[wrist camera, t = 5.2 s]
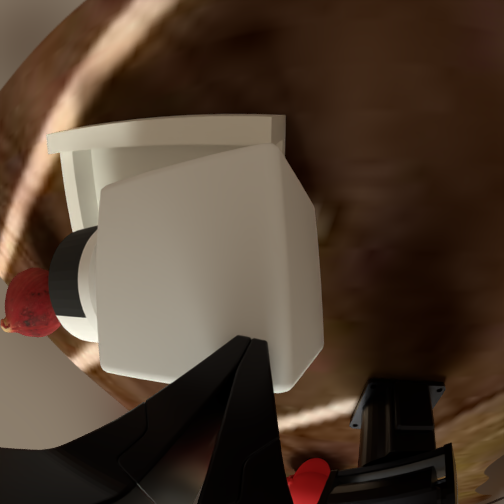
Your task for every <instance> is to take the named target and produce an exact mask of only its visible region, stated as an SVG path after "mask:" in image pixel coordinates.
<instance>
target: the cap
mask: <svg viewBox="0 0 504 504" xmlns="http://www.w3.org/2000/svg"><path fill="white" fill-rule="evenodd" d="M329 474H330V467H329V465H328V463H327V462H326V461H325V460H323V459H321V458H312V459H309V460H307V461H306V462H304V463H303V464H302V465H301V466H300V467H299V468H298V470H297V471H296V473H295V474H294V475H290V476H289V477H287V482H288V486H289V490H290V493H291V496H292V499H293V503H294V504H317V503H318V500H319V498H320V496H321V493H322V491H323V489H324V486H325V484H326V481H327V479H328V477H329Z"/></svg>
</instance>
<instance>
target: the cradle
mask: <svg viewBox="0 0 504 504" xmlns="http://www.w3.org/2000/svg"><path fill="white" fill-rule="evenodd" d="M285 134H286V115H272V114H200V115H180V116H165V117H152V118H142V119H132V120H123V121H115V122H108V123H101V124H94V125H88V126H82V127H78V128H73V129H68V130H64V131H60V132H56V133H52V134H48V135H46V137H47V147H48V154H53V153H60V157H61V165H62V173H63V180H64V187H65V193H66V199H67V205H68V210H69V216H70V221H71V226H72V230H73V232H75V231H77V230H81V229H85V228H89V227H93V226H97V225H98V215H99V202H100V192H101V189H102V188H104V187H105V186H106V185H108V184H111V183H114V182H117V181H120V180H123V179H126V178H129V177H133V176H136V175H139V174H142V173H146V172H149V171H152V170H156V169H159V168H163V167H166V166H170V165H173V164H177V163H181V162H185V161H188V160H192V159H196V158H200V157H204V156H208V155H212V154H216V153H221V152H225V151H229V150H234V149H238V148H243V147H247V146H252V145H257V144H262V143H273V144H274V145H276V146H277V147H279V149H280V150H281V152H282V154H283V155H284V157H285Z"/></svg>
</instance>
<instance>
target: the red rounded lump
mask: <svg viewBox="0 0 504 504" xmlns="http://www.w3.org/2000/svg"><path fill="white" fill-rule="evenodd" d="M48 276H49V271H47V270H45V269H42V268H29V269H27V270H25V271H23V272H20V273H19V274H17V275H16V276H15V277H14V278H13V279H12V281H11V283H10V284H9V287H8V289H7V294H6V300H5V313H6V317H5V318H4V319H2V320H1V328H2V329H3V330H4V331H5V332H18V333H20V334H22V335H25V336H32V337H43V336H46V335H49V334H51V333H52V332H54V331H55V330H56V329H57V328H59V327H60V325H61V323H60V321H59V320H58V318H57V316H56V314H55V312H54V310H53V307H52V304H51V300H50V296H49V288H48Z"/></svg>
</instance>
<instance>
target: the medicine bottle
mask: <svg viewBox="0 0 504 504" xmlns="http://www.w3.org/2000/svg"><path fill="white" fill-rule="evenodd" d="M48 288H49V296H50V300H51V304H52V307H53V310H54V312H55V314H56V316H57V318H58V320H59V321H60V323H61V324H62V325H63V326H64V328H65V329H66V330H67V331H68V332H69V333H71V334H72V335H74V336H75V337H77V338H79V339H81V340H85V341H90V342H97V343H98V344H99V356H100V364H101V368H102V369H103V370H104V371H106V372H108V373H113V374H118V375H123V376H128V377H133V378H139V379H145V380H151V381H157V382H163V383H170V384H171V383H172V382H173V381H175V380H176V379H178V378H179V377H181V376H182V375H183V374H185V373H186V372H188V371H189V370H190V369H192V368H193V367H195V366H196V365H197V364H199V363H200V362H201V361H203V360H204V359H206V358H207V357H208V356H210V355H211V354H212V353H214V352H215V351H216V350H218V349H219V348H220V347H222V346H223V345H224V344H226V343H227V342H228V341H230V340H231V339H232V338H234V337H235V336H237V335H242V336H247V337H250V338H251V339H253V338H257V339H261V340H265V341H267V343H268V350H269V358H270V366H271V373H272V381H273V389H274V393H282V392H286V391H289V390H290V389H291V388H292V387H293V386H294V385H295V383H296V382H297V381H298V380H299V378H300V377H301V376H302V375H303V373H304V372H305V371H306V369H307V368H308V367H309V366H310V364H311V363H312V362H313V360H314V359H315V358H316V356H317V355H318V354H319V352H320V351H321V350H322V348H323V345H324V335H323V311H322V293H321V277H320V262H319V249H318V237H317V226H316V215H315V208H314V205H313V204H312V202H311V200H310V198H309V197H308V195H307V193H306V192H305V190H304V188H303V187H302V185H301V183H300V181H299V180H298V178H297V176H296V175H295V173H294V172H293V170H292V168H291V167H290V165H289V163H288V162H287V160H286V158H285V157H284V155H283V154H282V152H281V150H280V149H279V147H277V146H276V145H274V144H273V143H262V144H257V145H252V146H247V147H243V148H238V149H234V150H229V151H225V152H221V153H216V154H212V155H208V156H204V157H200V158H196V159H192V160H188V161H185V162H181V163H177V164H173V165H170V166H166V167H163V168H159V169H156V170H152V171H149V172H146V173H142V174H139V175H136V176H133V177H129V178H126V179H123V180H120V181H117V182H114V183H111V184H108V185H106V186H105V187H104V188H102V189H101V192H100V202H99V215H98V225H97V226H93V227H89V228H85V229H81V230H77V231H75V232H73V233H71V234H70V235H68V236H67V237H66V238H65V239H64V240H63V241H62V242H61V243H60V244H59V246H58V247H57V249H56V251H55V253H54V255H53V258H52V261H51V264H50V269H49V276H48Z"/></svg>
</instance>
